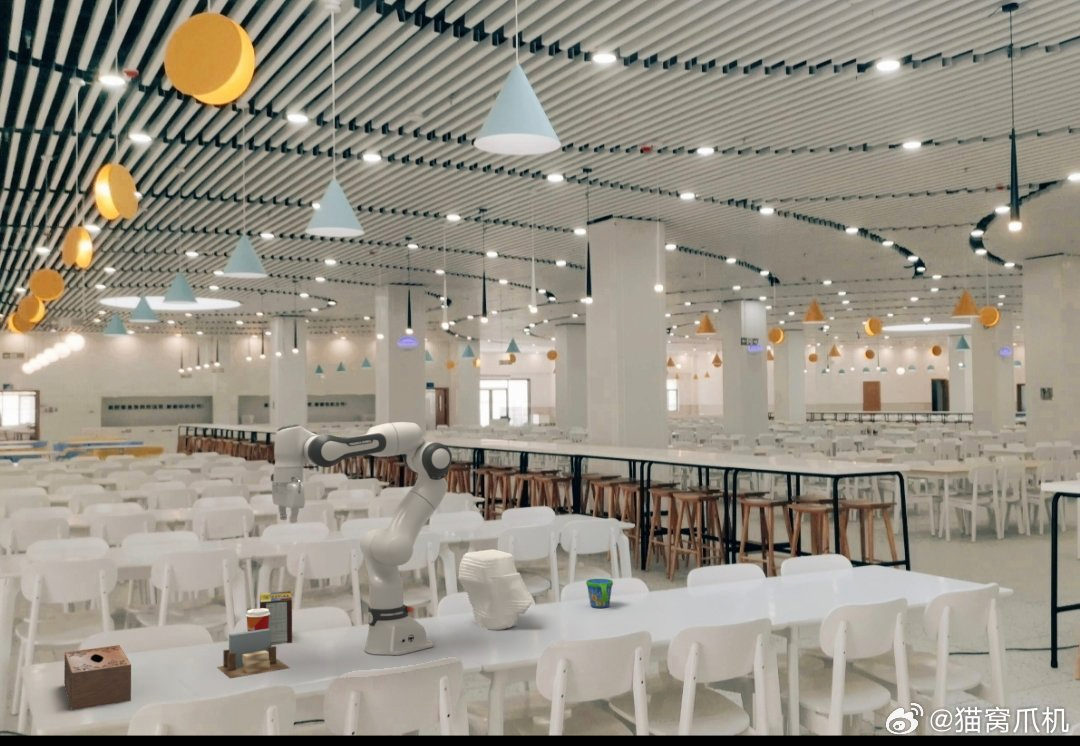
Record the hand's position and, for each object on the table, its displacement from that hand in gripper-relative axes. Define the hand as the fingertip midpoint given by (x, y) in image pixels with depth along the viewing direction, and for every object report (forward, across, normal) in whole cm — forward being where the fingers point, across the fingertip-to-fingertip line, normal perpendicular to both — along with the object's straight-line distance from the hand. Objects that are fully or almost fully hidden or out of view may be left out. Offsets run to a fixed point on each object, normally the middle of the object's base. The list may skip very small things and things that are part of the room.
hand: (288, 521), depth 281 cm
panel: (+44, +5, +10) cm, 45 cm away
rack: (+45, +2, +10) cm, 46 cm away
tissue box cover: (+46, +6, +53) cm, 70 cm away
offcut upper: (+41, -2, +10) cm, 43 cm away
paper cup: (+45, +20, +3) cm, 49 cm away
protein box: (+45, +33, -7) cm, 56 cm away
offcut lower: (+44, -2, +10) cm, 45 cm away
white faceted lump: (+44, +6, -78) cm, 90 cm away
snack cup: (+43, +8, -129) cm, 136 cm away
